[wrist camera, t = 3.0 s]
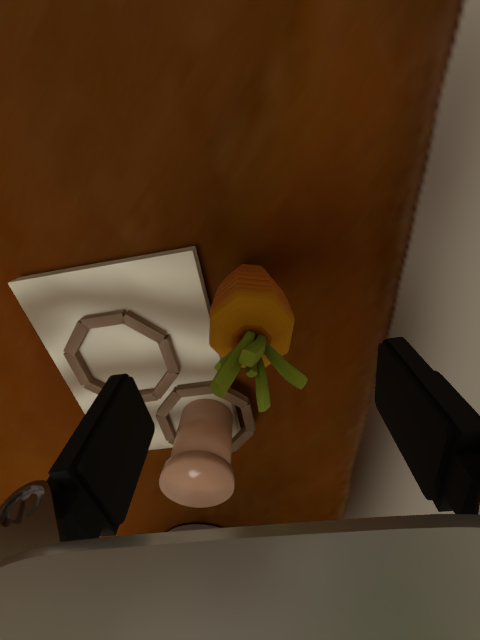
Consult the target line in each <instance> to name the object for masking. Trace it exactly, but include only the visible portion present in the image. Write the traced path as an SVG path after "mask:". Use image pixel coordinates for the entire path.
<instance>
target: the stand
mask: <svg viewBox="0 0 480 640" xmlns="http://www.w3.org/2000/svg"><path fill="white" fill-rule="evenodd" d="M8 284H9V286H10V288H11V289H12V291H13V293H14V294H15V296H16V298H17V300H18V301H19V303H20V305H21V306H22V308H23V310H24V311H25V313H26V315H27V317H28V318H29V320H30V322H31V323H32V325H33V327H34V328H35V330H36V332H37V333H38V335H39V337H40V339H41V340H42V342H43V344H44V345H45V347H46V349H47V350H48V352H49V354H50V356H51V357H52V359H53V361H54V362H55V364H56V366H57V367H58V369H59V371H60V373H61V374H62V376H63V378H64V379H65V381H66V383H67V384H68V386H69V388H70V389H71V391H72V393H73V395H74V396H75V398H76V400H77V401H78V403H79V405H80V406H81V408H82V410H83V412H84V413H85V414H86V413H87V411H88V410H89V408H90V407H91V405H92V403H93V402H94V400H95V399H96V397H97V396H98V394H99V392H100V391H101V389H102V388H103V386H104V385H105V383H106V381H107V380H108V378H109V377H110V376H112V375H117V374H128V375H129V377H130V376H131V377H133V379H134V381H135V383H136V385H137V387H138V389H139V391H140V394H141V396H142V398H143V400H144V402H145V404H146V407H147V409H148V411H149V413H150V415H151V417H152V420H153V422H154V425H155V432H154V435H153V438H152V441H151V444H150V447H149V450H154V449H163V448H172V447H173V445H174V441H175V437H176V433H177V429H178V425H179V421H180V418H181V414H182V411H183V409H184V407H185V406H186V405H187V404H188V403H190V402H192V401H194V400H198V399H213V400H217V401H219V402H221V403H223V404H225V405H226V406H227V407H228V408H229V409H230V411H231V413H232V416H233V425H232V447H231V453H233V451H234V452H235V451H236V450H237V449H238V448H240V447H241V446H242V445H243V444H244V443H245V442H246V441H247V440H248V439H249V438H250V437H251V436H252V435H253V434H254V433H255V422H254V417H253V412H252V408H251V403H250V400H248V397H246V396H244V395H243V394H241V393H239V392H237V391H235V390H233V389H232V388H229V389H228V391H227V393H226V394H225V396H224V397H223V398H219V397H217V396H216V395H214V394H213V392H212V391H211V390H210V388H209V387H210V384H211V382H212V380H213V379H214V377H215V375H216V373H217V371H216V370H215V369H214V366H215V365H216V364H217V363H218V362H219V361H220V360H221V359H222V357H221V356H220V355H219V354H218V353H217V352H216V351H215V350H214V349H212V348H211V347H210V344H209V329H210V309H211V307H210V303H209V299H208V295H207V291H206V287H205V283H204V279H203V275H202V271H201V267H200V263H199V259H198V255H197V251H196V247H195V246H192V247H186V248H181V249H175V250H169V251H164V252H158V253H152V254H147V255H141V256H135V257H130V258H124V259H118V260H113V261H107V262H101V263H96V264H90V265H84V266H79V267H73V268H67V269H62V270H56V271H50V272H45V273H39V274H33V275H28V276H22V277H19V278H17V279H15V280H12V281H10V282H8ZM235 405H236V406H238V407H240V408H241V412H242V416H243V420H244V425H245V426H244V427H243V428H242V429H241V428H240V424H239V420H238V416H237V412H236V408H235Z"/></svg>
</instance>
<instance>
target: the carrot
mask: <svg viewBox="0 0 480 640" xmlns="http://www.w3.org/2000/svg"><path fill="white" fill-rule="evenodd" d="M294 321H295V318H294V315H293V312H292V310H291V307H290V305H289V302H288V300H287V298H286V296H285V294H284V292H283V291H282V289H281V288H280V287H279V286H278V285H277V283H276V282H275V281H274V280H273V279H272V277H271V276H270V275H269V274H268V272H267V271H266V270H265V269H264V268H263V267H262V266H260V265H250V264H241V265H240V266H239V267H238V268H236V269H235V270H234V271H233V272H231V273H230V274H229V275H228V276H227V277H226V278H225V279H224V280H223V281H222V282H221V283H220V285H219V286H218V289H217V291H216V294H215V296H214V299H213V303H212V306H211V309H210V329H209V344H210V347H211V348H212V349H214V350H215V351H216V352H217V353H218V354H219V355H220V356H221V357H222V359H221V360H220V361H219V362H218V363H217V364H216V365H215V366H214V369H215V370H216V371H217V373H216V375H215V377H214V379H213V380H212V382H211V384H210V387H209V388H210V390H211V391H212V392H213V394H214V395H216V396H217V397H219V398H223V397H224V396H225V394H226V393H227V391H228V389H229V388H230V386H231V385H232V383H233V382H234V380H235V378H236V376H237V374H238V372H239V370H240V368H241V367H243V368H246V375H247V376H248V377H255V382H256V398H257V406H258V411H259V412H263V411H266V410H267V409H268V408H269V407H270V396H269V389H268V381H267V375H266V369H265V367H266V366H268V365H270V364H271V363H272V365H273V366H274V367H275V369H276V370H277V371H278V372H279V374H280V375H281V376H282V377H283V378H284V379H286V380H287V381H288V382H289V383H290V384H292V385H294V386H295V387H297V388H299V389H300V390H301V389H302V388H303V387H304V386H305V385H306V383H307V381H308V379H307V377H306V376H305V375H304V374H302V373H301V372H300V371H299V370H297V369H296V368H295V367H293V366H292V365H291V364H290V363H289V362H287V361H286V360H285V359H284V358H283V357H282V356H283V355H285V354H287V353H288V351H289V346H290V341H291V336H292V331H293V326H294Z"/></svg>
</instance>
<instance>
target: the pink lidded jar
mask: <svg viewBox="0 0 480 640" xmlns="http://www.w3.org/2000/svg"><path fill="white" fill-rule="evenodd" d="M232 425H233V416H232V413H231V411H230V409H229V408H228V407H227V406H226V405H225V404H223V403H221V402H219V401H217V400H213V399H198V400H194V401H192V402H190V403H188V404H187V405H186V406H185V407H184V409H183V411H182V414H181V418H180V421H179V425H178V429H177V433H176V437H175V441H174V445H173V448H172V452H171V456H170V458H169V459H168V460H167V461H166V462H165V464H164V466H163V469H162V472H161V476H160V480H159V485H160V489H161V491H162V492H163V493H164V495H165V496H167V497H168V498H169V499H170V500H172V501H174V502H176V503H178V504H181V505H184V506H189V507H197V508H203V507H211V506H215V505H219V504H221V503H223V502H225V501H226V500H227V499H229V498H230V497H231V495H232V494H233V491H234V480H235V474H234V470H233V468H232V466H231V447H232Z"/></svg>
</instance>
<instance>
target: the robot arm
mask: <svg viewBox="0 0 480 640" xmlns="http://www.w3.org/2000/svg"><path fill="white" fill-rule="evenodd" d="M375 403H376V407H377V409H378V411H379V413H380V414H381V416H382V418H383V420H384V422H385V424H386V426H387V427H388V429H389V431H390V433H391V435H392V437H393V439H394V441H395V442H396V444H397V446H398V448H399V450H400V452H401V454H402V455H403V457H404V459H405V461H406V463H407V465H408V467H409V468H410V470H411V472H412V474H413V476H414V478H415V480H416V482H417V483H418V485H419V487H420V489H421V491H422V493H423V494H424V496H425V497H426V499H427V500H433V502H434V504H435V506H436V507H437V509H438V511H439V512H442V511H454V513H455V514H431V515H410V516H390V517H374V518H359V519H343V520H328V521H313V522H298V523H284V524H270V525H256V526H242V527H229V528H219V527H216V526H212V525H205V524H188V525H182V526H179V527H176V528H174V529H171V530H170V531H168V532H163V533H150V534H137V535H125V536H114V535H116V533H117V530H118V527H119V524H122V523H123V522H124V520H125V518H126V515H127V512H128V509H129V506H130V503H131V500H132V497H133V494H134V491H135V488H136V485H137V482H138V479H139V476H140V473H141V470H142V467H143V464H144V462H145V459H146V456H147V453H148V450H149V447H150V444H151V441H152V438H153V435H154V432H155V425H154V422H153V420H152V417H151V415H150V413H149V411H148V409H147V407H146V404H145V402H144V400H143V398H142V396H141V394H140V391H139V389H138V387H137V385H136V383H135V381H134V379H133V377H131V376H130V377H129V375H128V374H117V375H112V376H110V377H109V378H108V380H107V381H106V383H105V385H104V386H103V388H102V389H101V391H100V392H99V394H98V396H97V397H96V399H95V400H94V402H93V403H92V405H91V407H90V408H89V410H88V411H87V413H86V414H85V416H84V417H83V419H82V421H81V422H80V424H79V425H78V427H77V428H76V430H75V432H74V433H73V435H72V436H71V438H70V439H69V441H68V443H67V444H66V446H65V447H64V449H63V450H62V452H61V454H60V455H59V457H58V458H57V460H56V461H55V463H54V464H53V466H52V468H51V469H50V471H49V472H48V473H49V474H50V477H49V478H48V480H47V481H44V480H37V481H33V482H30V483H28V484H26V485H24V486H22V487H20V488H19V489H18V490H16V491H15V492H14V493H12V494H11V495H10V496H9V497H8V498H7V499H6V500H5V501H4V502H3V504H2V505H1V506H0V640H480V416H479V415H478V413H477V412H476V411H475V410H474V409H473V408H472V407H471V406H470V405H469V404H468V403H467V402H466V401H465V399H464V398H462V396H461V395H460V394H459V393H458V392H457V391H456V390H455V389H454V388H453V386H452V385H451V384H450V383H449V382H448V381H447V380H446V379H445V378H444V377H443V376H442V375H441V374H440V373H439V372H437V371H433V369H432V368H431V367H430V366H429V365H428V364H427V363H426V362H425V361H424V360H423V358H422V357H421V356H420V355H419V354H418V353H417V352H416V351H415V350H414V349H413V348H412V346H411V345H410V344H409V343H408V342H407V341H406V340H405V339H404V338H403V337H397V338H389V339H385V340H384V341H383V343H382V344H379V346H378V359H377V373H376V387H375ZM99 536H114V537H104V538H99Z"/></svg>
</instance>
